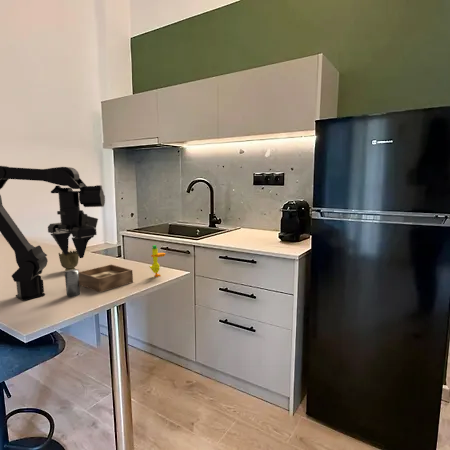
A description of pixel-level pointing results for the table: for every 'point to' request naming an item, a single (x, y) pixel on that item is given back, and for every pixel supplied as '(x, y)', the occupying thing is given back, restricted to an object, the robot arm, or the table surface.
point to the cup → (69, 260)
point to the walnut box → (105, 277)
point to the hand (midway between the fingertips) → (73, 256)
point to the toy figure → (155, 255)
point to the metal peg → (72, 283)
